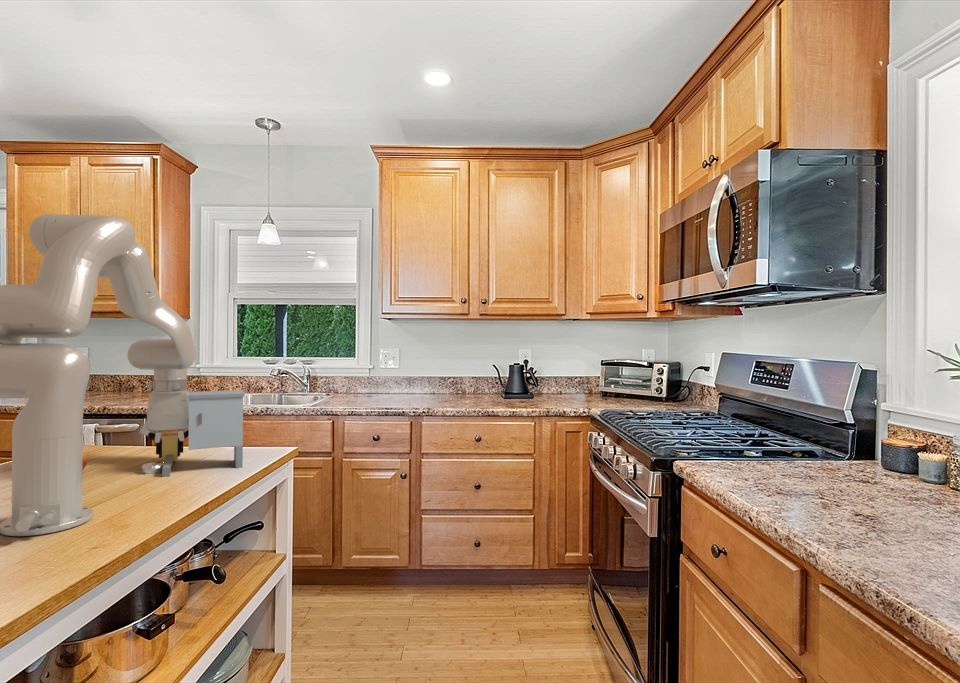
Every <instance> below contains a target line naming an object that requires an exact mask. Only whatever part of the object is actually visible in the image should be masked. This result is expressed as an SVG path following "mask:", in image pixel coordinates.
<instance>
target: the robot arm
mask: <svg viewBox="0 0 960 683" xmlns="http://www.w3.org/2000/svg"><path fill="white" fill-rule="evenodd" d="M28 236H29V239H30V242H31V245H32V246H33V247H34V248H35V250H36V251H37V252H38V253H39V254H40V255H41V256H43V258H42V259H41V262H40V268H39V269H38V270H39V271H38V275H37V277H36V279H35V281H34V282H33V283H31V284H12V283H11V284H1V285H0V399H28V400H27V402H26V403H25V405H24V406H23V407H22V409H21V410H20V411H19V412H18V414H17V415H16V417H15V419H14V421H13V424H12V428H11V433H12V434H11V438H12V440H11V442H12V443H11V447H12V448H11V450H12V451H11V516H10V517H8V518H6V519H5V520H3V521H2V522H1V523H0V534H2V535H4V536H9V537H28V536H39V535H46V534H51V533H56V532H60V531H65V530H68V529H72V528H75V527H78V526H80V525H83V524H85V523H86V522H88V521H89V520H90V519H92V518H93V515H94V514H93V513H94V510H93V509H92V508H91V507H89V506H86V505H83V471H82V460H83V453H84V452H83V440H84V439H83V438H84V431H83V427H84V406H85V405H84V404H85V397H86V393H87V388H88V384H89V380H90V375H91V362H90V359H89V357H88V355H87V354H86V353H85V352H84V351H83V350H81V349H80V348H77V347H75V346H74V345H73V346H72V345H68V344H63V343H47V342H46V343H42V342H41V343H39V342H38V343H37V342H33V343H32V342H27V343H22V341H23V339H25V338H26V339H27V338H29V339H33V338H34V339H36V338H37V339H44V338H45V339H59V338H60V339H64V338H75V337H78V336H81V334H84V332H86V329H87V327H88V324H90V320H91V314H92V311H93V310H92V309H93V304H94V298H95V294H96V289H97V283H98V280H99V279H98V278H106V279H108V280H109V283H110V285H111V288H112V291H113V294H114V297H115V300H116V303H117V305H118V309H119V311H121V312H122V313H123V314H125V315H126V316H128V317H131V318H133V319H135V320H138V321H140V322H143V323H145V324H148V325H151V326H153V327H156V328H158V329H159V330H161V331H162V332H164V333H165V334H166V335H168V336H169V338H170V339H166V338H165V339H156V338H155V339H151V338H150V339H148V338H147V339H139V340H137V341H134V342H133V343H132V344H131V345H130V346H129V348H128V350H127V352H126V353H127V354H126V355H127V360H128V362H129V363H130V365H131V366H132V367H134V368H136V369H139V370H147V371H149V370H151V371H152V370H153V381H151V382H147V383H146V388H147V389H152V392H150V393H149V396H148V402H147V411H146V420H145V422H144V423H143V425H142V427H141V428H140V430H139V434H142V435H144V436H147V437H148V438H149V439H151V440H152V441H153V442H154V443H155V454H156V455H158V459H162V435H163V433H162V432H173V431H174V432H175V431H177V433H178V454H177V456H178V458H180V456H181V453H184V441H185V440H186V439H187V438H189V399H188V392H190V390H189V391H188V389H187V388H188V387H187V386H188V385H187V384H188V380H187V379H188V369H190V367H192V366H193V364H194V363H195V359H196V348H195V343H194V338H193V336H192V335H193V334H192V333H191V329H190V327H189V325H188V323H187V322H186V321H185V320H184V318H182V316H181V315H179V313H177V312H176V310H174V309H173V308H172V307H170V306H169V305H167V303H165V302H164V301H163V300H162V299H161V295H160V292H159V289H158V286H157V282H156V279H155V276H154V272H153V269H152V265H151V262H150V258H149V255H148V252H147V250H146V249H145V247H144V246H143V245H142V244H140V243H139V242H137V241H135V240H136V239H135V238H136V231H135V227H134V226H133V224H132V223H131V222H129V220H126V219H125V218H123V217H119V216H115V215H114V216H113V215H97V214H96V215H93V214H92V215H91V214H89V215H88V214H60V213H49V214H48V213H47V214H42V215H39V216H37V217H36V218H34V219H33V220H32V221H31V223H30V226H29V230H28Z"/></svg>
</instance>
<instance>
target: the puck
mask: <svg viewBox="0 0 960 683" xmlns="http://www.w3.org/2000/svg"><path fill="white" fill-rule="evenodd" d="M163 465H164V463H163V462H162V461H153V462H147V463H146V462H145V463H143V464H142V465H141V474H142V473H143V474H142V475H145V474H151V475H157V474H156V473H158V474H161V473H160V472H162V468H163Z"/></svg>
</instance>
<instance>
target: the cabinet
mask: <svg viewBox="0 0 960 683" xmlns="http://www.w3.org/2000/svg"><path fill="white" fill-rule="evenodd" d="M245 396H246V393H245V392H244V390H243V389H238V390H237V389H236V390H231V389H230V390H207V391H205V390H203V391H189V392H188V399H189V436H188V447H187V450H188V451H191V450H192V451H193V450H195V451H196V450H203V449H204V450H205V449H217V448H232V447H233V453H234V454H233V462H235V463H234V466H235V468H236V469H238V468H237V467H241V468H243V460H244V459H243V458H244V456H243V454H244V453H243V451H244V450H243V449H244V442H243V441H244V440H243V438H244V397H245Z"/></svg>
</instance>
